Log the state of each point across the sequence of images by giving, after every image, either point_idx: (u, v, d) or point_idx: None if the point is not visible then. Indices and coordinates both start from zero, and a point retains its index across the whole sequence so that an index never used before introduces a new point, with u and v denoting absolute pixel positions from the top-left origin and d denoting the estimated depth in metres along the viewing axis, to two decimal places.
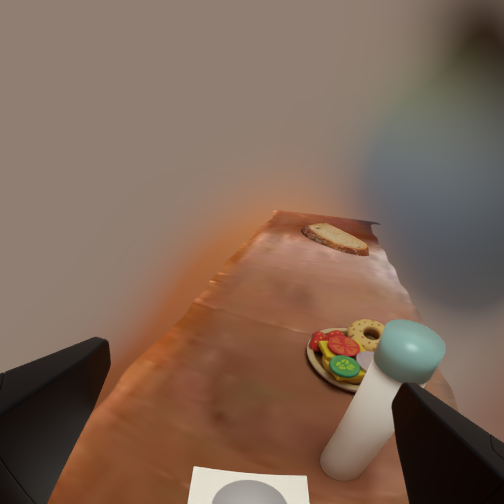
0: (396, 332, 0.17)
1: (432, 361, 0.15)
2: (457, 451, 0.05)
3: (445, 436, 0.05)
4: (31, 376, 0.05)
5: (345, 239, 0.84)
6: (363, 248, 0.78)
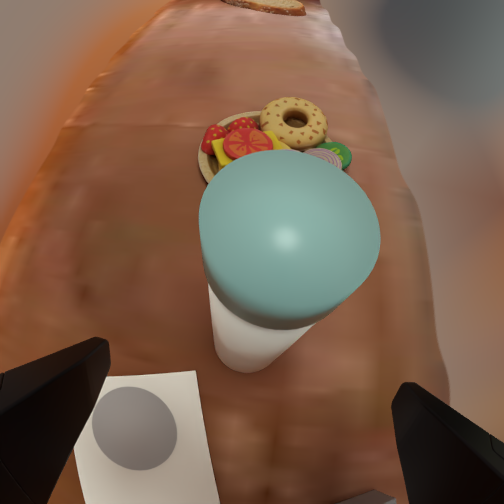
0: (235, 203, 0.07)
1: (327, 304, 0.06)
2: (457, 451, 0.05)
3: (445, 436, 0.05)
4: (31, 376, 0.05)
5: None
6: (297, 8, 0.49)
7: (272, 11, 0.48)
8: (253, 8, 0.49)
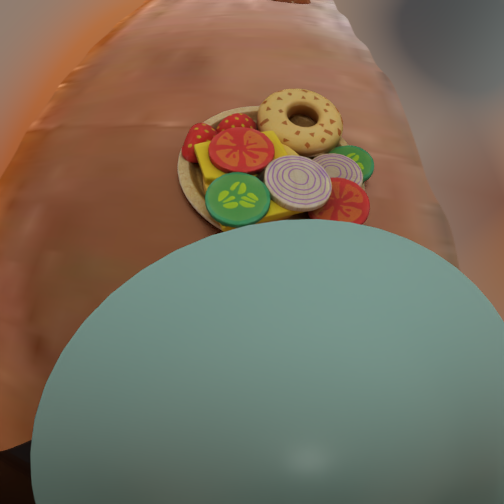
0: (133, 473, 0.01)
1: None
2: None
3: None
4: None
5: None
6: None
7: None
8: None
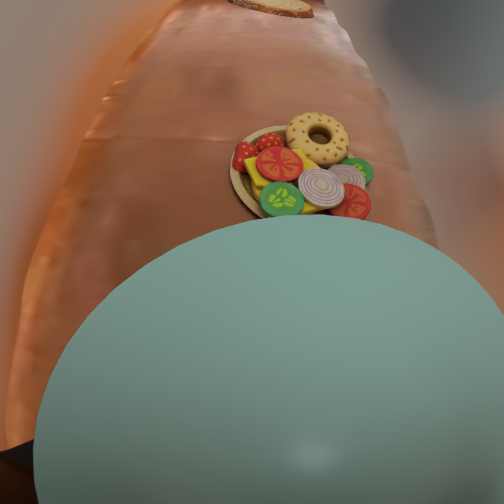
0: (137, 468, 0.01)
1: None
2: None
3: None
4: None
5: (282, 1, 0.51)
6: (305, 10, 0.49)
7: (281, 13, 0.49)
8: (261, 10, 0.49)
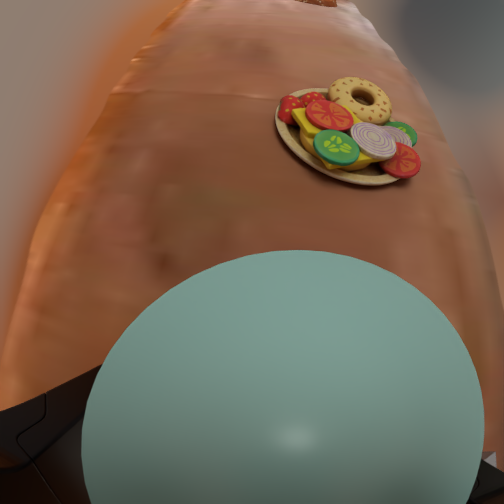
0: (165, 437, 0.02)
1: None
2: None
3: None
4: (77, 395, 0.05)
5: None
6: None
7: (305, 0, 0.47)
8: None
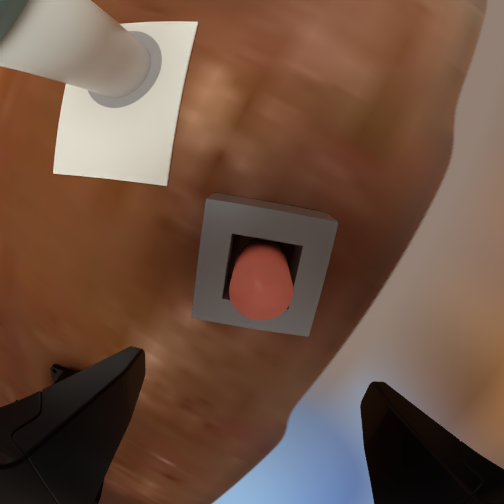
0: None
1: None
2: (421, 458, 0.05)
3: (410, 441, 0.05)
4: (72, 393, 0.05)
5: None
6: None
7: None
8: None
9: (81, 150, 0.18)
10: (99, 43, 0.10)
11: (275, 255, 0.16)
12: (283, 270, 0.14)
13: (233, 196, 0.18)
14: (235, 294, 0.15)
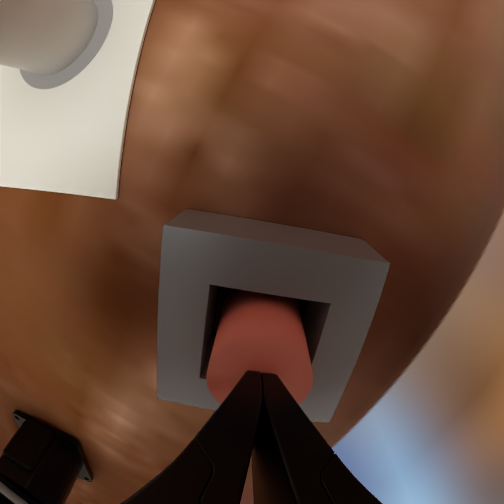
0: None
1: None
2: (276, 464, 0.05)
3: (271, 441, 0.05)
4: (231, 435, 0.05)
5: None
6: None
7: None
8: None
9: (10, 152, 0.11)
10: None
11: (283, 316, 0.09)
12: (298, 351, 0.08)
13: (215, 215, 0.11)
14: (217, 384, 0.08)
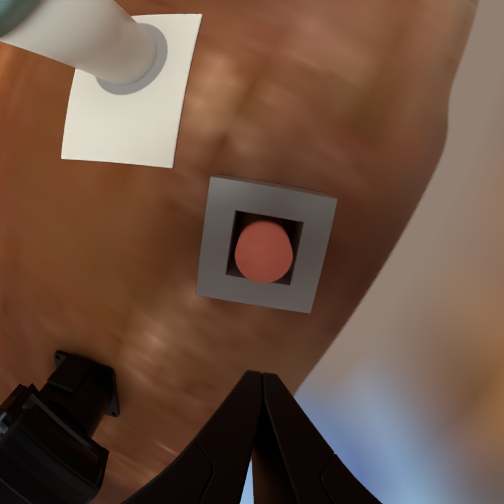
0: None
1: None
2: (276, 464, 0.05)
3: (271, 441, 0.05)
4: (230, 435, 0.05)
5: None
6: None
7: None
8: None
9: (89, 135, 0.18)
10: (110, 30, 0.11)
11: (276, 225, 0.17)
12: (283, 235, 0.16)
13: (236, 177, 0.19)
14: (240, 258, 0.16)
